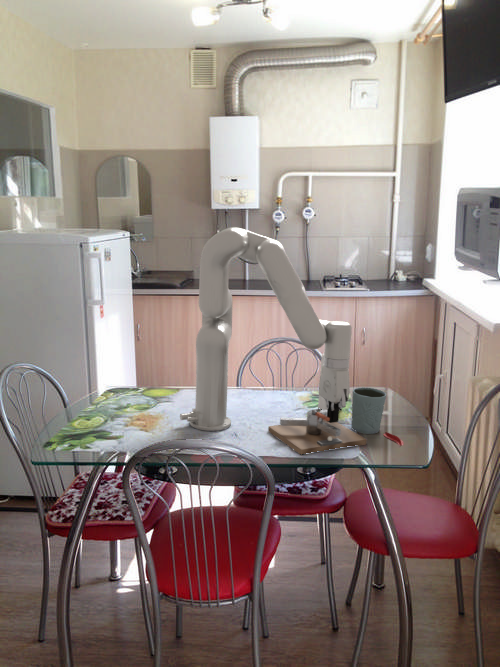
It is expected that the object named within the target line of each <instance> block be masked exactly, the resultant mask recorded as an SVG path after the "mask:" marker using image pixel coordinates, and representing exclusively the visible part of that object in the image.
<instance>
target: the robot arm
mask: <svg viewBox="0 0 500 667" xmlns="http://www.w3.org/2000/svg"><path fill="white" fill-rule="evenodd" d="M235 258H239V259H240V258H241V259H242V260H246V261H249V262H252V263H255V264H258V266H259V267H260V269H261V272H262V274H264V277H265V278H266V280H267V282H268V283H269V286H270V287H271V289H272V291H273V294H274V295H275V296H276V299H277V301H278V303H279V305H280V306H281V308H282V310H283V311H284V313H285V314H286V317H287V318H288V320H289V322H290V324H291V326H292V328H293V330H294V332H295V335H297V337H298V339H299V341H300V343H301V344H302V345H303V347H305V348H307V349H309V350H317V349H320V348H322V347H323V346H324V351H323V353H324V365H323V366H322V370H321V369H320V373H321V374H320V376H319V380H318V381H319V383H318V396H319V395H320V396H321V397H323V398H324V399H325V400H326V407H327V408H328V409H327V417H329V418H330V421H328V422H330V423H334V422H337V423H339V417H340V411H341V410H340V409H341V408H342V409H343V408H346V407H347V402H348V401H349V400H350V399H349V398H350V388H351V387H350V383H351V382H350V370H349V369H350V368H349V367H350V360H351V359H350V358H351V346H352V344H351V342H352V328H353V327H352V325H351V323H350V322H347V321H344V320H343V321H342V320H332V321H329V320H323V319H319V318H318V316H317V313H316V312H315V310H314V308H313V305H312V304H311V301H310V299H309V297H308V294H307V291H306V288H305V286H304V284H303V282H302V280H301V278H300V276H299V274H298V272H297V270H296V269H295V268H294V265H293V264H292V262H291V259H290V258H289V256H288V254H287V252H286V250H285V247H284V245H283V244H282V243H281V242H280V241H279V240H277V239H273V238H270V237H267V236H263V235H262V234H258V233H256V232H253V231H250V230H248V229H244V228H240V227H238V226H237V227H236V226H233V227H232V226H231V227H227V228H225V229H223V230H221V231H219V232H217V233H216V234H214V235H213V236H212V237H210V238H209V239H208V240H207V241H206V242H205V244H204V246H203V248H202V250H201V255H200V261H199V262H200V263H199V279H198V280H199V281H198V282H199V283H198V284H199V285H198V286H199V290H198V307H199V310H200V312H201V328H200V329H199V330H198V332H197V335H196V339H195V353H196V354H195V355H196V367H195V368H196V370H195V374H196V376H195V377H196V378H195V405H194V406H195V407H194V408H192V411H189V412H188V413H184V412H183V413H179V419H180V421H187V422H189V424H190V426H191V427H193V428H194V429H196V430H200V431H206V432H207V431H211V432H215V431H221V430H222V431H224V430H225V429H229V428H230V427H231V426H232V421H231V418H229V417H228V416H227V410H228V409H227V407H228V406H227V403H228V383H229V382H228V379H229V376H228V373H229V347H230V346H229V345H230V341H231V339H232V336H233V335H232V334H233V295H232V294H233V293H232V292H231V290H230V289H229V278H230V277H229V276H230V268H229V267H230V263H231V261H232V259H235Z"/></svg>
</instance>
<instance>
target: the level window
mask: <svg viewBox="0 0 500 667" xmlns="http://www.w3.org/2000/svg"><path fill="white" fill-rule="evenodd" d="M340 443H342V440H340V439H338V438H335V439H332V441H328V440H322V441H317V444H319V445H320V446H327V445H334V444H340Z"/></svg>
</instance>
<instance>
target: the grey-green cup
mask: <svg viewBox="0 0 500 667" xmlns="http://www.w3.org/2000/svg"><path fill="white" fill-rule="evenodd" d="M386 398H387V393H386V392H385V391H383V390H380V389H377V388H373V387H356V388H353V389H352V404H351V405H352V407H351V429H352V428H353V429H354V430H356V431H357V432H356V431H355V432H356V433H361V434H366V435H370V434H371V435H374V434H376V433H380V429H381V423H382V418H383V413H384V409H385V404H386ZM353 429H352V430H353ZM354 430H353V431H354Z"/></svg>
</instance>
